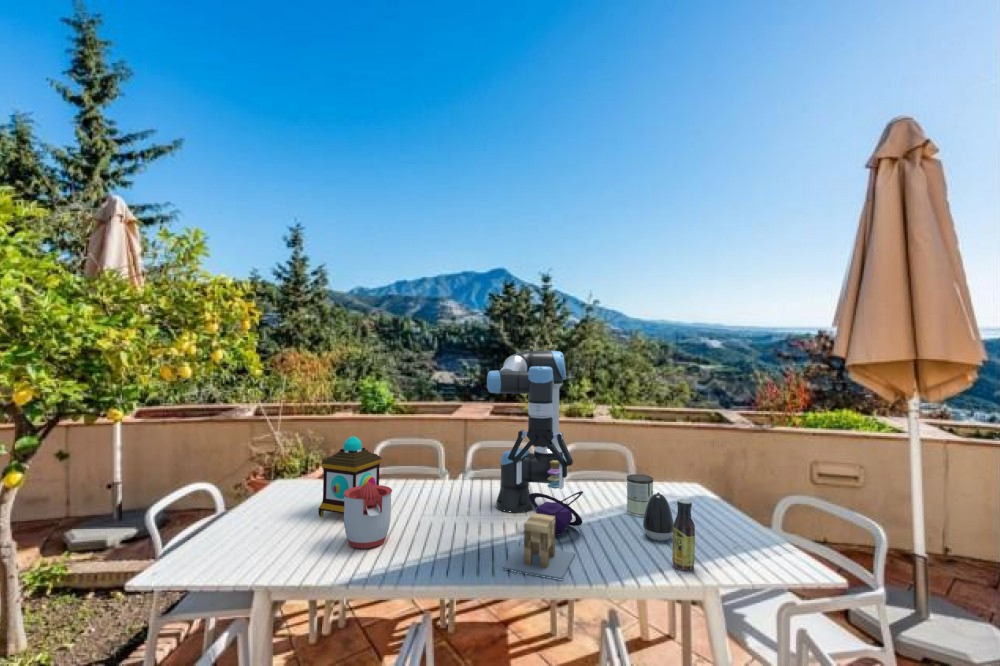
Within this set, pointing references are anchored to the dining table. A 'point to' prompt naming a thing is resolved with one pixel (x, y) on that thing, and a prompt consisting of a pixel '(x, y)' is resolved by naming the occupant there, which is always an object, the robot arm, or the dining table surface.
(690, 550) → the sauce bottle
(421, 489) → the dining table surface
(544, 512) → the ringed planet sculpture
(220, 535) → the dining table surface
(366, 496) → the citrus juicer
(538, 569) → the slate mat
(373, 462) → the decorative lantern
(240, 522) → the dining table surface
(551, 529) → the notched wooden block
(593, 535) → the dining table surface
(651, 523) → the black egg shape
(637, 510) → the coffee can
